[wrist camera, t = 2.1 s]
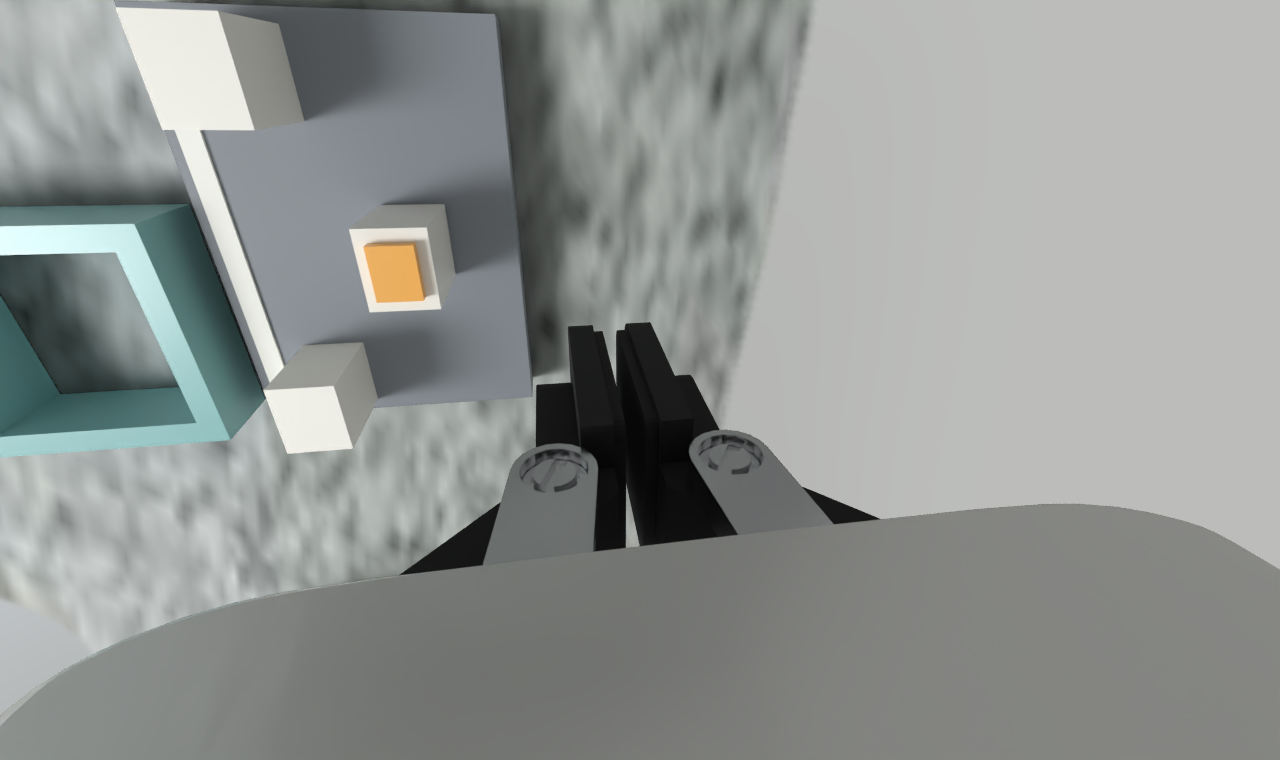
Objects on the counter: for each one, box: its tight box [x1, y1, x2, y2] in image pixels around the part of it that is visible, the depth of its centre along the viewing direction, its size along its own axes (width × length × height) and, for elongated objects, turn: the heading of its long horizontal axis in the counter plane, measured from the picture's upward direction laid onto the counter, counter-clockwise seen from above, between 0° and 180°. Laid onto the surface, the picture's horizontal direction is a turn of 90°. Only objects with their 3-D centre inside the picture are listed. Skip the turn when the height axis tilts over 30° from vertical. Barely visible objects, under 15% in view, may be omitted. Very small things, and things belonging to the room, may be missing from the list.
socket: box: [0, 204, 265, 457], centre depth 22 cm, size 10×10×4 cm
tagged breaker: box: [349, 204, 456, 312], centre depth 20 cm, size 3×2×4 cm
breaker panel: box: [114, 0, 533, 454], centre depth 21 cm, size 16×12×6 cm
